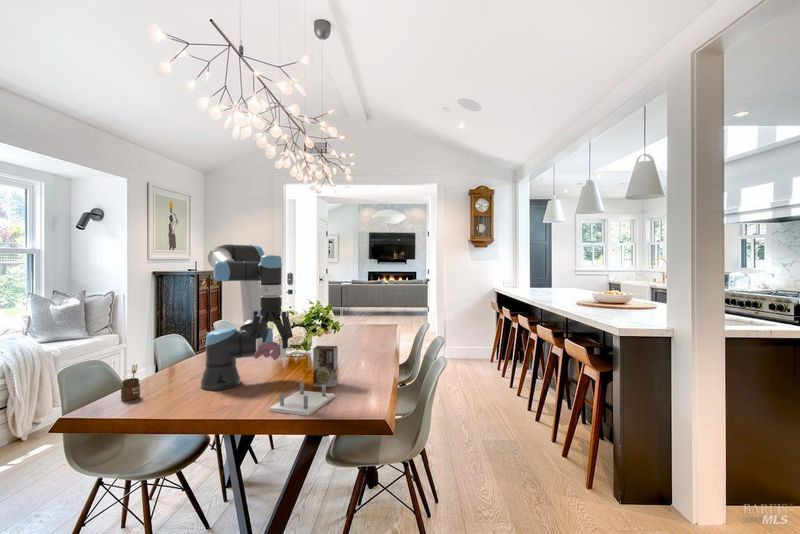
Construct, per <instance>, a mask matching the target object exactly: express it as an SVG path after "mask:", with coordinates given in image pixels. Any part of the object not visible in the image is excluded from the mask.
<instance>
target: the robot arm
mask: <svg viewBox="0 0 800 534" xmlns="http://www.w3.org/2000/svg"><path fill="white" fill-rule="evenodd" d="M207 261H208V264H209V265H210V267H212V268H213V269H212V270H213V272H212V274H213V280H215V281H216V282H223V283H224V282H239V283H240V296H241V310H242V320H243V321H242V324H241V325H240V327H239V330H237V328H236V327H233V326H232V327H225V328H224V327H223V328H217V329H214V330H211V331H210V332H207V334H206V336H205V343H204V344H205V367H204V368H205V369H204V372H203V374H202V379H200V380H201V381H200V388H201V389H203V390H205V391H207V390H208V391H218V390H221V391H222V390H227V389H231V388H235V387H237V386H239V385H240V384H241V377H240V374H239V371H238V367H237V359H241V358H243V359H244V358H252V357H253V358H254V354H255V352H256V351H257V350H258V348H259V347H260V346H261V345H262V344H263V343H268V342H274V331H273V329H272V328H271V327H269V325H268V323H269V322H271V323H273V324H274V325H275V327H276V329H277V331H278V333H279V336H280V337H281V339H280V340H279V344H280V356H279V358H280V359H284V358H287V349H288V348H289V339H292V338H293V337H294V335H293V332H292V331H293V330H292V327H291V322H290V319H289V318H290V317H289V311H287V310H285V311H284V310H282V306H283V305H282V299H283V298H282V297H281V296H282V292H283V291H282V288H283V287H282V273H283V271H282V267H283V262H282V257H281V255H276V254H275V255H273V254H270V255H267V254H266V255H265V252H264V250H263V248H262V247H261V246H259V245H254V244H247V245H246V244H230V243H229V244H221V245H219V246H216V247H214V248H212V249H211V250H210V251H209V252H208V255H207ZM270 352H272V350H270ZM261 356H263V354H262V355H261ZM261 356H260V357H261Z"/></svg>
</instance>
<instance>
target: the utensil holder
mask: <svg viewBox="0 0 800 534" xmlns="http://www.w3.org/2000/svg"><path fill="white" fill-rule="evenodd" d="M131 368H132V369H131V372H130V370H126V371H124V374H123V375H124V379H123V380H122V382H121V384H122V386H121V388H120V399H121V401H124V402H126V401H134V400H137V399H140V396H141V385H140V384H141V383H139V382H140V379H139V378H138V377H135V374H137V371H138V364H132V365H131ZM127 373H128V375H129V378H128V377H127V376H128V375H127ZM130 373H131V376H130ZM125 374H126V375H125Z"/></svg>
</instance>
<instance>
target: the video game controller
mask: <svg viewBox="0 0 800 534" xmlns="http://www.w3.org/2000/svg"><path fill="white" fill-rule="evenodd" d="M270 350H271V351H270ZM262 354H263V355H262ZM261 355H262V356H263V357H264V358H265V359H266V358H269V357H270V358H272V360H273V361H276V360H277V359H278V360H279V358H280V342H279V343H278V342H275V341H273V342H268V343H263V344H262V345H261V346H260V347H259V348H258V350H257V351H256V352H255V354H254V357H253V358H254V359H255V360H256V359H259V358H260V357H261Z"/></svg>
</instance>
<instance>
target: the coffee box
mask: <svg viewBox="0 0 800 534" xmlns="http://www.w3.org/2000/svg"><path fill="white" fill-rule="evenodd" d="M312 357H313V358H312V359H313V360H312V363H313V364H312V366H313V367H312V368H313V369H312V370H313V373H312V374H313V377H312V379H313V381H312V382H313V383H312V385H313V386H312V387H314V388H322V385H326V388H335V387H336V386H337V385H338V382H339V381H338V379H339V378H338V376H339V375H338V369H339V368H338V366H339V365H338V345H317V346H315V347H313V348H312Z"/></svg>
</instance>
